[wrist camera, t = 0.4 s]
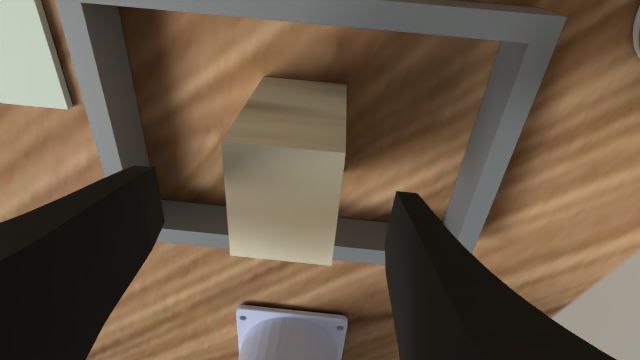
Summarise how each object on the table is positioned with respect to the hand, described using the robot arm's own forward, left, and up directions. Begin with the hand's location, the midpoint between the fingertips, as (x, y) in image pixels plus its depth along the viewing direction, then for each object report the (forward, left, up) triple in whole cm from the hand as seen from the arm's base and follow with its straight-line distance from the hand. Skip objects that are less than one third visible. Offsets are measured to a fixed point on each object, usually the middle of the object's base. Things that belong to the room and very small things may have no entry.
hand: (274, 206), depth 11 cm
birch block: (-1, 0, -9) cm, 9 cm away
